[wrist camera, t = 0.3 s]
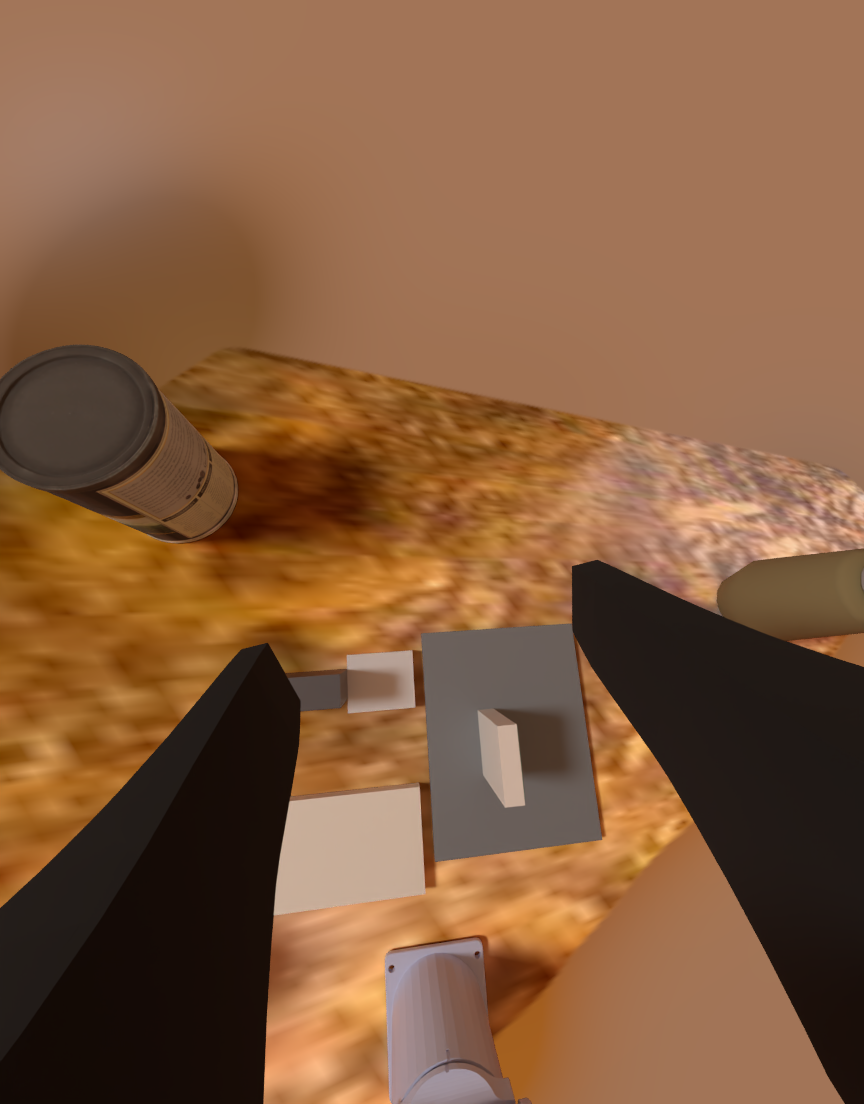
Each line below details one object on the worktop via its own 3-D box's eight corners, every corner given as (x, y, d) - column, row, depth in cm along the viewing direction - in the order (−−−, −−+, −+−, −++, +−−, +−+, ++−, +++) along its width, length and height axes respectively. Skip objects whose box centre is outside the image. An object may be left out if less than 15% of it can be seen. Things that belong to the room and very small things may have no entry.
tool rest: (424, 886, 33) (425, 894, 32) (213, 915, 31) (207, 924, 30) (418, 782, 35) (419, 786, 34) (218, 804, 33) (213, 809, 32)
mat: (598, 836, 35) (602, 839, 35) (434, 858, 33) (435, 861, 33) (568, 623, 39) (571, 623, 39) (421, 633, 38) (421, 633, 37)
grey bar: (414, 705, 36) (419, 718, 30) (246, 720, 34) (216, 736, 29) (411, 650, 37) (415, 652, 31) (248, 661, 36) (220, 666, 30)
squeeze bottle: (747, 657, 40) (1018, 671, 23) (690, 599, 41) (910, 569, 24) (789, 606, 42) (1070, 582, 25) (734, 551, 43) (968, 490, 25)
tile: (500, 773, 35) (527, 805, 28) (483, 775, 35) (505, 807, 28) (494, 708, 36) (518, 724, 29) (477, 709, 36) (497, 726, 29)
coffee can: (138, 557, 37) (-14, 507, 23) (121, 460, 38) (-29, 360, 25) (250, 528, 38) (170, 465, 25) (228, 436, 40) (143, 330, 26)
